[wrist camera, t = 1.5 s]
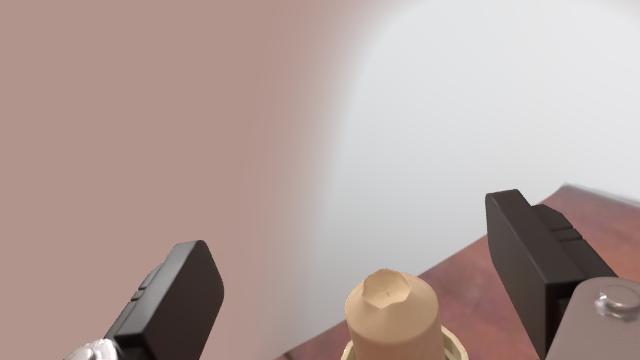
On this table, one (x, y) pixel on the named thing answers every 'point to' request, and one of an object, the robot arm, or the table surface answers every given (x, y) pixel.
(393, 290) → the candle
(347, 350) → the bowl
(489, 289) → the table surface
